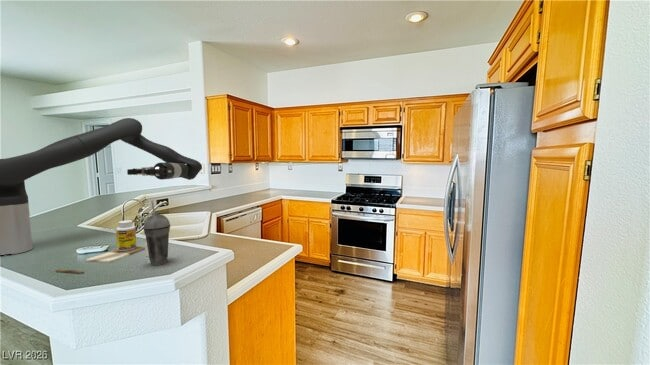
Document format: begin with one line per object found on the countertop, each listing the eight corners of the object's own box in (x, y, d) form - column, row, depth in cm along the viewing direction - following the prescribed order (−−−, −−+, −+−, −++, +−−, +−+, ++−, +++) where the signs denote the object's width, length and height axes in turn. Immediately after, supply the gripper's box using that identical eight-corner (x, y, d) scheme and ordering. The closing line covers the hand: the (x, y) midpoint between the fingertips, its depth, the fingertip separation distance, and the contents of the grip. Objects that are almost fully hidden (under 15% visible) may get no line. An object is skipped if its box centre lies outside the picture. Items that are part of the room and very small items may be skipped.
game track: (55, 271, 77) (55, 269, 77) (125, 247, 100) (125, 245, 100) (81, 273, 76) (81, 271, 76) (146, 248, 98) (146, 247, 98)
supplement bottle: (116, 253, 92) (114, 223, 91) (118, 248, 96) (116, 220, 95) (136, 250, 95) (134, 221, 94) (137, 246, 99) (135, 219, 98)
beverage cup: (177, 260, 86) (174, 199, 85) (156, 268, 80) (153, 202, 78) (160, 257, 89) (157, 198, 87) (139, 265, 82) (135, 201, 80)
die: (145, 256, 90) (144, 243, 90) (150, 252, 94) (150, 240, 94) (158, 255, 91) (157, 243, 90) (163, 251, 95) (162, 239, 94)
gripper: (153, 162, 122) (121, 162, 106) (181, 162, 119) (152, 162, 103) (154, 178, 122) (122, 181, 106) (182, 179, 120) (153, 181, 104)
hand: (137, 172), depth 105 cm, fingers open, 8 cm apart
